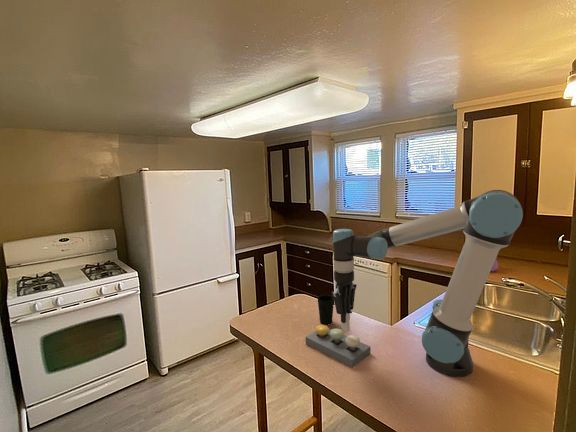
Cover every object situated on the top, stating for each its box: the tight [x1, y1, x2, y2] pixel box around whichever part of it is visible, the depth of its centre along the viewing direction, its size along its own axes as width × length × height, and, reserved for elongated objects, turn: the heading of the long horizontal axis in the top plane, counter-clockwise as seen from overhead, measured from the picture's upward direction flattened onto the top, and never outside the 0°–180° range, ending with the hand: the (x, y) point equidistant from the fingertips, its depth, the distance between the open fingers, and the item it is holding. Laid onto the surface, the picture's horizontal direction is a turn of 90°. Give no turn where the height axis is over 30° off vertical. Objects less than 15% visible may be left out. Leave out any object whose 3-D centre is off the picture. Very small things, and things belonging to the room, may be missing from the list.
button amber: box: [315, 324, 330, 338], centre depth 128 cm, size 5×5×4 cm
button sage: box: [330, 328, 344, 344], centre depth 122 cm, size 5×5×4 cm
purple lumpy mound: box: [490, 258, 499, 273], centre depth 210 cm, size 20×14×12 cm
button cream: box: [346, 334, 361, 351], centre depth 117 cm, size 5×5×4 cm
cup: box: [317, 294, 335, 326], centre depth 144 cm, size 8×8×12 cm
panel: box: [305, 328, 372, 368], centre depth 123 cm, size 23×12×3 cm, turn 44°
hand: (345, 329), depth 119 cm, fingers closed
